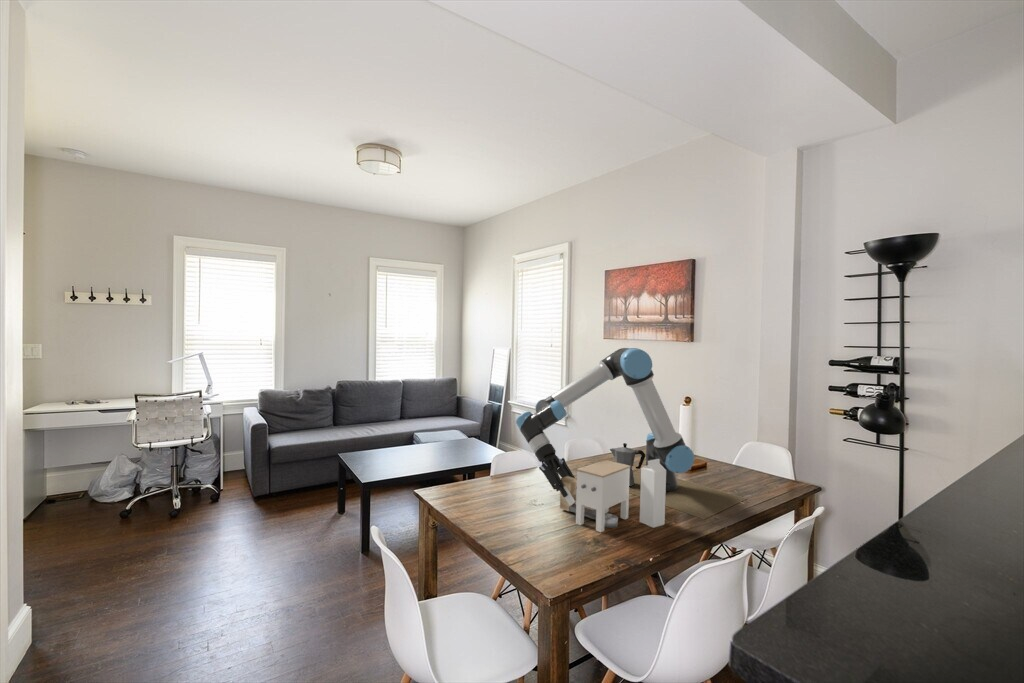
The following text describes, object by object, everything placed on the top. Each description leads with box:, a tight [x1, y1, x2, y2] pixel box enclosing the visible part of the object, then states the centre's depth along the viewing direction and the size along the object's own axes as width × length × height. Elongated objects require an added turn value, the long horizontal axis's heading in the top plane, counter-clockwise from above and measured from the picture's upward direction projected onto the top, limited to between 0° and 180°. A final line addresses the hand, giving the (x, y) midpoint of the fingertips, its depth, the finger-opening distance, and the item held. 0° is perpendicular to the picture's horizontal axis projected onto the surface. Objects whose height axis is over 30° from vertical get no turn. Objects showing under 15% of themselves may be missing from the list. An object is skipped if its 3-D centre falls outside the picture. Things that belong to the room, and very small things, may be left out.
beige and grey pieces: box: [559, 476, 596, 521], centre depth 162 cm, size 4×16×11 cm, turn 47°
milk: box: [639, 459, 667, 529], centre depth 157 cm, size 6×6×22 cm
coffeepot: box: [609, 443, 646, 487], centre depth 200 cm, size 15×9×18 cm, turn 70°
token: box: [604, 513, 619, 529], centre depth 155 cm, size 6×6×2 cm
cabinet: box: [575, 459, 631, 533], centre depth 158 cm, size 19×10×19 cm, turn 137°
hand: (576, 502), depth 164 cm, fingers closed on beige and grey pieces, 4 cm apart
